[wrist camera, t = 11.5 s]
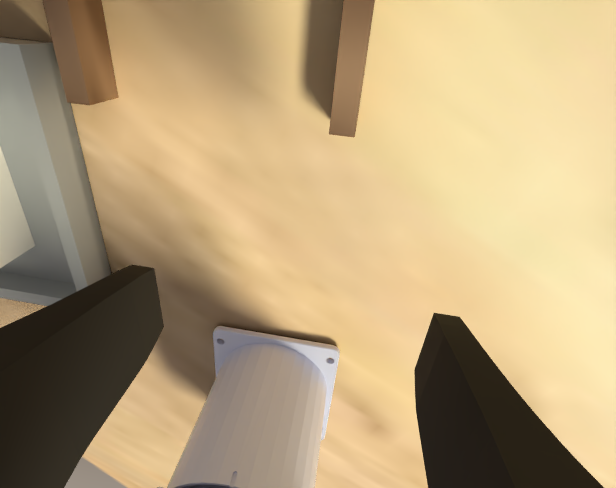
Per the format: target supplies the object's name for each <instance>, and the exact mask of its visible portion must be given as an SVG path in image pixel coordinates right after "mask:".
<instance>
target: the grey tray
mask: <svg viewBox="0 0 616 488" xmlns="http://www.w3.org/2000/svg"><path fill="white" fill-rule="evenodd" d="M0 147H1V150H2V152H3V155H4V158H5V161H6V164H7V167H8V170H9V172H10V175H11V178H12V181H13V184H14V187H15V189H16V192H17V195H18V198H19V201H20V204H21V207H22V209H23V212H24V215H25V218H26V221H27V224H28V226H29V229H30V232H31V235H32V238H33V241H34V243H35V246H34V247H33V248H31V249H29V250H28V251H26V252H25V253H23V254H22V255H20V256H19V257H17V258H15V259H14V260H12V261H11V262H9V263H8V264H6V265H5V266H3V267H1V268H0V298H4V299H10V300H16V301H22V302H27V303H33V304H39V305H45V306H49V305H51V304H53V303H55V302H57V301H59V300H61V299H63V298H65V297H67V296H69V295H71V294H73V293H75V292H77V291H79V290H81V289H83V288H85V287H87V286H89V285H91V284H93V283H95V282H97V281H99V280H101V279H103V278H105V277H107V276H109V275H111V270H110V266H109V262H108V257H107V253H106V249H105V245H104V241H103V237H102V232H101V228H100V224H99V220H98V216H97V211H96V207H95V203H94V199H93V195H92V191H91V186H90V182H89V178H88V174H87V170H86V165H85V161H84V157H83V153H82V149H81V145H80V140H79V136H78V132H77V128H76V124H75V119H74V115H73V111H72V107H71V103H67V99H66V95H65V91H64V87H63V83H62V79H61V75H60V70H59V66H58V62H57V58H56V54H55V50H54V46H53V43H52V42H43V41H33V40H24V39H15V38H5V37H0Z"/></svg>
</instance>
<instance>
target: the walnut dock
mask: <svg viewBox="0 0 616 488" xmlns="http://www.w3.org/2000/svg"><path fill="white" fill-rule="evenodd" d="M42 1H43V5H44V9H45V13H46V17H47V21H48V25H49V29H50V33H51V38H52V42H53V46H54V50H55V54H56V58H57V62H58V66H59V70H60V75H61V79H62V83H63V87H64V91H65V95H66V99H67V103H75V104H84V105H93V104H96V103H100V102H104V101H107V100H111V99H115V98H118V93H117V87H116V82H115V76H114V70H113V65H112V59H111V53H110V47H109V42H108V36H107V30H106V24H105V19H104V13H103V7H102V1H101V0H42ZM374 2H375V0H344V2H343V11H342V20H341V29H340V38H339V47H338V57H337V66H336V75H335V84H334V93H333V102H332V111H331V120H330V129H329V134H331V135H340V136H348V137H355V131H356V125H357V118H358V111H359V104H360V98H361V91H362V84H363V77H364V70H365V63H366V56H367V50H368V43H369V36H370V29H371V22H372V15H373V9H374Z"/></svg>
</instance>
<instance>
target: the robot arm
mask: <svg viewBox="0 0 616 488" xmlns="http://www.w3.org/2000/svg"><path fill="white" fill-rule="evenodd" d="M163 327H164V325H163V319H162V313H161V307H160V301H159V295H158V289H157V283H156V276H155V270H154V268H149V267H143V266H137V265H131V266H128V267H126V268H124V269H121V270H119V271H117V272H115V273H113V274H111V275H109V276H107V277H105V278H103V279H101V280H99V281H97V282H95V283H93V284H91V285H89V286H87V287H85V288H83V289H81V290H79V291H77V292H75V293H73V294H71V295H69V296H67V297H65V298H63V299H61V300H59V301H57V302H55V303H53V304H51V305H49V306H47V307H45V308H43V309H41V310H39V311H36V312H34V313H32V314H30V315H28V316H26V317H23V318H21V319H19V320H17V321H15V322H13V323H10V324H8V325H6V326H4V327H2V328H0V488H64V487H65V485H66V483H67V481H68V479H69V478H70V476H71V474H72V473H73V471H74V469H75V467H76V465H77V463H78V462H79V460H80V458H81V457H82V455H83V454H84V452H85V451H86V449H87V447H88V446H89V444H90V443H91V441H92V440H93V438H94V437H95V435H96V434H97V432H98V431H99V429H100V428H101V427H102V425H103V424H104V422H105V421H106V419H107V418H108V416H109V415H110V413H111V412H112V411H113V409H114V408H115V406H116V405H117V403H118V402H119V400H120V399H121V397H122V396H123V395H124V393H125V392H126V390H127V389H128V387H129V386H130V384H131V383H132V381H133V380H134V378H135V377H136V375H137V374H138V372H139V371H140V370H141V368H142V366H143V365H144V363H145V362H146V360H147V359H148V357H149V355H150V353H151V351H152V349H153V347H154V345H155V343H156V341H157V339H158V337H159V335H160V333H161V331H162V329H163ZM221 339H223V340H221ZM213 344H214V358H215V372H216V379H215V381H214V384H213V386H212V388H211V390H210V393H209V395H208V397H207V399H206V402H205V404H204V406H203V408H202V411H201V413H200V415H199V417H198V420H197V422H196V424H195V426H194V428H193V431H192V433H191V435H190V437H189V440H188V442H187V444H186V446H185V449H184V451H183V453H182V455H181V458H180V460H179V462H178V464H177V466H176V469H175V471H174V473H173V475H172V478H171V480H170V482H169V484H168V487H167V488H315V482H316V474H317V466H318V458H319V450H320V442H321V440H323V439H324V438H325V433H326V428H327V422H328V416H329V411H330V405H331V400H332V394H333V389H334V383H335V377H336V372H337V366H338V361H339V355H340V350H339V348H338V347H336V346H334V345H330V344H324V343H318V342H312V341H306V340H300V339H294V338H289V337H283V336H277V335H271V334H265V333H259V332H254V331H248V330H242V329H236V328H230V327H224V326H218V327H216V328H215V329H214V331H213ZM329 358H333V359H329ZM415 398H416V413H417V420H418V426H419V433H420V439H421V445H422V452H423V458H424V464H425V470H426V477H427V483H428V488H604V487H603V486H602V485H601V484H600V483H599V482H598V481H597V480H596V479H595V478H594V477H593V476H592V475H591V474H590V473H589V472H588V471H587V470H586V469H585V468H584V467H583V466H582V465H581V464H580V463H579V462H578V461H577V460H576V459H575V458H574V456H573V455H572V454H571V453H570V452H569V451H568V450H567V449H566V448H565V447H564V446H563V445H562V444H561V442H560V441H559V440H558V439H557V438H556V437H555V436H554V434H553V433H552V432H551V431H550V430H549V429H548V428H547V427H546V425H545V424H544V423H543V422H542V421H541V420H540V419H539V417H538V416H537V415H536V414H535V413H534V412H533V411H532V409H531V408H530V407H529V406H528V405H527V403H526V402H525V401H524V400H523V399H522V397H521V396H520V395H519V394H518V392H517V391H516V390H515V389H514V388H513V386H512V385H511V384H510V383H509V381H508V380H507V379H506V377H505V376H504V375H503V374H502V372H501V371H500V370H499V369H498V367H497V366H496V365H495V363H494V362H493V361H492V359H491V358H490V357H489V355H488V354H487V353H486V351H485V350H484V349H483V348H482V346H481V345H480V343H479V342H478V341H477V339H476V338H475V337H474V335H473V334H472V333H471V331H470V330H469V329H468V327H467V326H466V325H465V323H464V322H463V321H462V319H461V318H460V317H457V316H450V315H444V314H438V313H434V314H433V317H432V320H431V323H430V326H429V329H428V332H427V335H426V338H425V341H424V344H423V347H422V350H421V353H420V355H419V358H418V361H417V364H416V367H415ZM157 488H163V487H157Z"/></svg>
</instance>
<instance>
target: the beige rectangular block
mask: <svg viewBox="0 0 616 488" xmlns="http://www.w3.org/2000/svg"><path fill="white" fill-rule="evenodd" d="M34 246H35V243H34V241H33V238H32V235H31V232H30V229H29V226H28V224H27V221H26V218H25V215H24V212H23V209H22V207H21V204H20V201H19V198H18V195H17V192H16V189H15V187H14V184H13V181H12V178H11V175H10V172H9V170H8V167H7V164H6V161H5V158H4V155H3V152H2V150H1V147H0V268H1V267H3V266H5V265H6V264H8V263H9V262H11V261H12V260H14V259H15V258H17V257H19V256H20V255H22V254H23V253H25V252H26V251H28V250H29V249H31V248H33V247H34Z"/></svg>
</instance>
